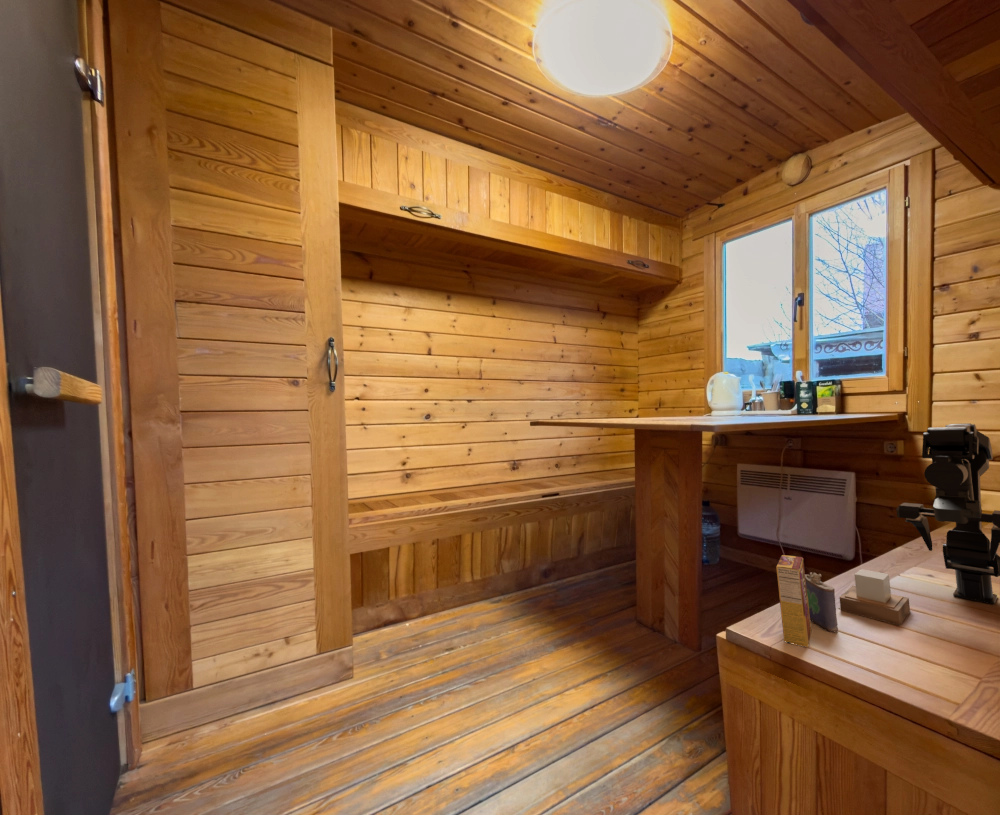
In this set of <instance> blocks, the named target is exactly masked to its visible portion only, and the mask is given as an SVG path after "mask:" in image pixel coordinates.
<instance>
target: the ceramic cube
mask: <svg viewBox="0 0 1000 815" xmlns="http://www.w3.org/2000/svg"><path fill="white" fill-rule="evenodd" d="M890 579H891V578H890V574H889V573H884V572H881V571H880V572H879V571H874V570H868V569H863V568H860V569H859V570H858V571H857V572H855V573H854V584H855V585H854V586H856V596H858V597H862V598H866V599H871V600H875V601H879V602H884V603H886V602H887V601H888V600H889V598H890V597H891V594H892V592H891V582H890Z"/></svg>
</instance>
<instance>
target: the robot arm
mask: <svg viewBox="0 0 1000 815" xmlns="http://www.w3.org/2000/svg"><path fill="white" fill-rule="evenodd" d="M921 450H922V451H921V452H922V453H921V457H922V459H931V461H932V462H931V463H930V464H929V465H928V466H927V467H926V468H925V469H924V474H923V475H924V478H925V481H927V483H929V484H930V485H932V486H933V487H934V491H935V497H934V498H933V505H932V508H929V507H927V508H926V507H925V506H924V504H923V503H922V504H921V503H910V502H902V503H901V504H899V505H898V506H897V507H896V517H897V518H900V519H904V521H905V522H906V523H911V525H913V526H914V528H916V530H917V531H918V533H919V535H920V536H921V539H922V541H923V542H924V544H925V546H926V547H927V550H928V551H929V552H932V551H933V540H932V535H931V531H930V526H929V521H928V517H929V518H934V519H935V520H936V522H937V521H938V522H941V523H942V522H943V523H945V522H949V523H955V526H954V528H952V529H949V530H948V531H947V532H946V536H945V537H946V539H945V540H946V541H945V542H943V544H942V556H943V560H944V566H945V569H947V570H954V573H955V580H956V581H955V583H956V589H955V590H954V592H953V593H952V595H953V597H957V598H961V599H965V600H966V599H967V600H970V601H976V602H981V603H985V604H991V605H995V604H996V601H997V599H998V594H995V593H994V592H993V584H992V582H993V580H992V577H995V578H999V577H1000V555H999V554H998V553H997V552H998V549H999V546H1000V510H996V509H994V510H993V512H992V513H984V512H983V510H982V509H983V508H982V501H981V500H982V495H981V477H982V476H983V475H984V474H985V473H986V472H987V471H988V470H989V468H990V460H991V461H992V460H993V457H994V456H993V448H992V443H991V440H990V437H989V436H987V435H985V434H983V433H982V432H981V431H979V430H978V429H977V426H976V424H974V423H950V424H945V427H940V426H939V427H928V428H927V429H926V432H923V435H922V449H921ZM982 523H991V524H992V527H991V528H990V534H991V535H990V536H991V537H990V539H989V538H988V537H987V536H986V534H985V533H984V532H983V529H982V527H983V525H982Z"/></svg>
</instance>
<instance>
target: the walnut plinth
mask: <svg viewBox="0 0 1000 815" xmlns="http://www.w3.org/2000/svg"><path fill="white" fill-rule="evenodd" d="M839 607H840V611H842V612H846V613H849V614H853V615H857V616H861V617H863V618H869V619H872V620H876V621H880V622H884V623H888V624H892V625H896V626H901V625H902V623H903V621H905V619H906V618H907V616H908V615H909V613H911V606H910V597H906V596H901V595H897V594H893V593H891V597H890V598H889V600H888V601H887V602H886V603H884V602H879V601H875V600H871V599H866V598H862V597H858V596H856V585H852V586H850V587H849V588H848V589H847V590H846V591H845V592H844V593H842V594H841V595H840V596H839Z"/></svg>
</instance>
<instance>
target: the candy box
mask: <svg viewBox="0 0 1000 815" xmlns="http://www.w3.org/2000/svg"><path fill="white" fill-rule="evenodd" d="M775 570H776V576H777V585H778V596H779V605H780V615H781V624H782V633H783V634H782V635H783V642H784V641H786V642H790V643H794V644H797V645H796V646H798V645H802V646H806V647H809V645H810V639H811V634H812V623H811V622H812V621H810V614H809V605H808V596H807V587H806V579H805V573H806V571H805V563H804V558H803V556H797V555H796V556H795V555H784V554H782V555H781V556H780V557H779V560H778V563H777V565H776V569H775ZM808 644H809V645H808ZM802 646H801V647H802ZM806 647H805V648H806Z"/></svg>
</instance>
